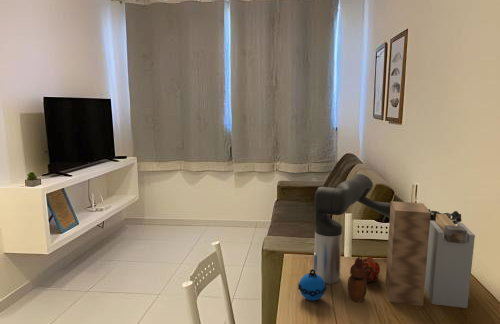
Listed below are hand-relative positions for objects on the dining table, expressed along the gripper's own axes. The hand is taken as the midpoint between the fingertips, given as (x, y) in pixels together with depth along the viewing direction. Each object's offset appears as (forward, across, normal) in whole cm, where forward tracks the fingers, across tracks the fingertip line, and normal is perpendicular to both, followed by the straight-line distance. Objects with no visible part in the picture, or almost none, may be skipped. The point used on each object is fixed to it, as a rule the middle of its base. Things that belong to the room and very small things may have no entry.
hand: (442, 212), depth 127 cm
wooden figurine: (+4, -28, +32) cm, 42 cm away
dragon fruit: (-9, -24, +24) cm, 35 cm away
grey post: (-3, 0, +27) cm, 27 cm away
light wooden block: (+4, 0, +7) cm, 9 cm away
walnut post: (-1, -13, +28) cm, 31 cm away
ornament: (+7, -42, +34) cm, 54 cm away
